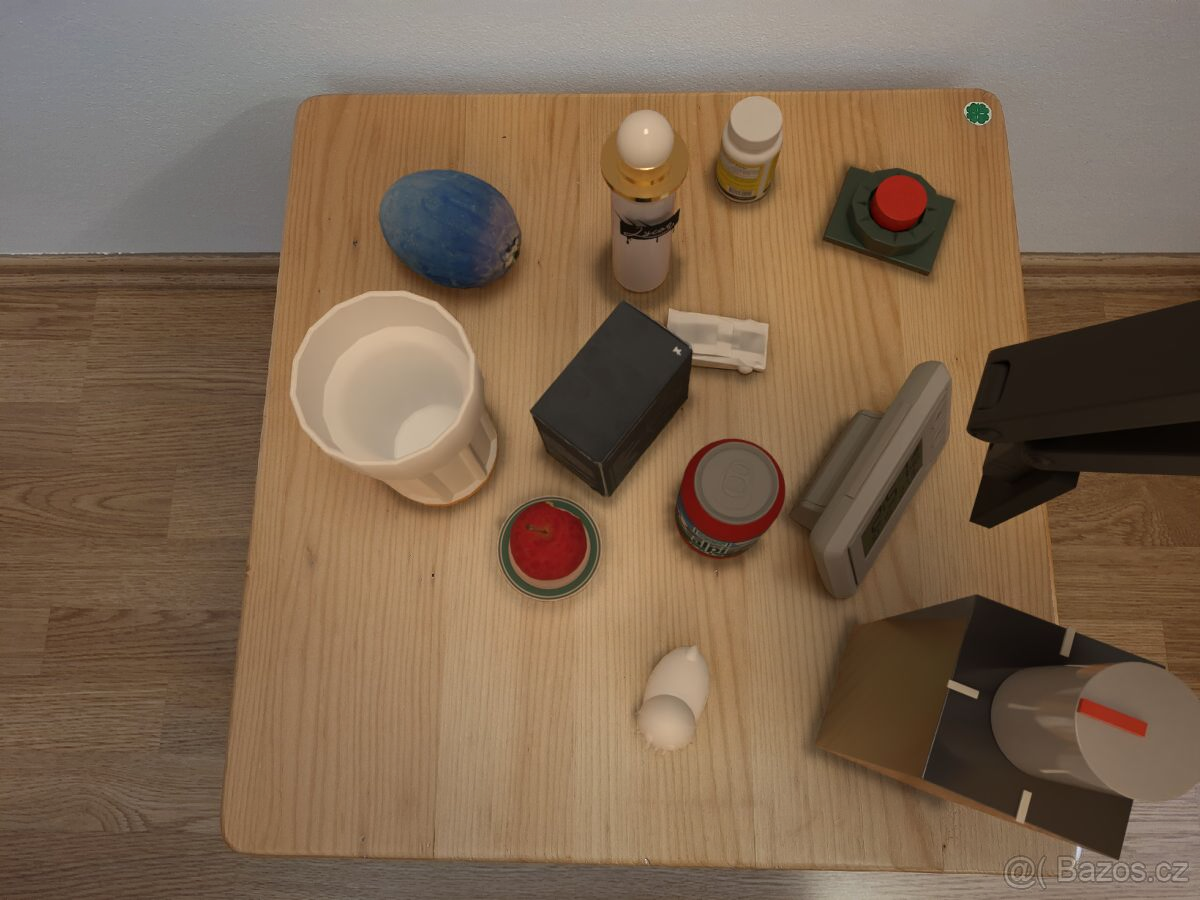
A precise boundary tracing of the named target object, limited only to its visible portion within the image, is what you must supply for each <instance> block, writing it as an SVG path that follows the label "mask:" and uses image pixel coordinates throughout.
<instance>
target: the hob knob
mask: <svg viewBox="0 0 1200 900" xmlns="http://www.w3.org/2000/svg"><path fill="white" fill-rule="evenodd" d="M991 725H992V730H993V734H994V737H995V739H996V742H997V744H998V746H999V747H1000V749H1001V751H1002V752H1003V754H1004V755H1005V756H1006V757H1007V759H1008V760H1009V761H1010V762H1011V763H1012V764H1013V765H1015V766H1016V767H1017V768H1018V769H1020V770H1022V771H1023V772H1025V773H1027V774H1029V775H1031V776H1033V777H1036V778H1039V779H1044V780H1048V781H1053V782H1057V783H1062V784H1066V785H1070V786H1075V787H1079V788H1084V789H1088V790H1093V791H1097V792H1102V793H1106V794H1110V795H1115V796H1119V797H1124V798H1128V799H1133V800H1134V801H1137V802H1143V803H1165V802H1168V801H1172V800H1175V799H1178V798H1180V797H1182V796H1183V795H1185V794H1187V793H1188V792H1190V791H1191V790H1192V789H1194V788H1195V787H1196V786H1197V785H1198V783H1199V782H1200V699H1199V698H1198V696H1197V695H1196V693H1195V692H1194V691H1193V690H1192V689H1191V688H1190V686H1188V685H1187V684H1186V683H1185V681H1183V680H1182V679H1180V678H1179V676H1176V675H1175V674H1173V673H1172V672H1171V671H1168V670H1167V669H1166V668H1165V669H1162V668H1160V667H1158V666H1155V665H1152V664H1148V663H1143V662H1114V663H1093V664H1072V665H1052V666H1034V667H1028V668H1024V669H1021V670H1019V671H1017V672H1015V673H1013V674H1012V675H1010V676H1009V677H1008V678H1007V679H1006V680H1005V681H1004V682H1003V683H1002V684H1001V685H1000V687H999V688H998V690H997V692H996V694H995V696H994V699H993V702H992V707H991Z"/></svg>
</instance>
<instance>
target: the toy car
mask: <svg viewBox="0 0 1200 900" xmlns="http://www.w3.org/2000/svg"><path fill="white" fill-rule="evenodd" d="M666 324H667V325H666V328H668V329H669V330H670V331H671V332H673V333H675V334H676V335H677V336H678V337H680V338H681V339H682V340H684V341H686V342H688V343H689V344H690V345H691V346H692V350H693V354H692V364H691V366H696V367H705V368H707V367H708V368H715V369H725V370H738V372H739V373H740V374H744V375H747V374H750V373H752V371H753V370H754V371H758V372H763V371H765V370H766V365H767V354H768V351H767V346H768V341H769V340H768V339H769V328H770V324H769V323H765V322H758V321H756V320H754V319H752V318H745V319H741V318H734V317H728V316H722V315H716V314H708V313H700V312H692V311H681V310H676V309H674V308H672V307H669V308H668V317H667V323H666Z"/></svg>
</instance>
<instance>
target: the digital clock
mask: <svg viewBox="0 0 1200 900" xmlns="http://www.w3.org/2000/svg"><path fill="white" fill-rule="evenodd" d="M952 393H953V377H952V375H951V373H950V371H949V370H948V367H947V366H946V364H945V362H942V361H939V360H928V361H927V360H926V361H923V362H920V363H918V364H916V365H915V366H914V368H912V370H911V372H910V373H909V374H908V376H907V378H906V379H905V381H904V382H903V384H902V386H901V387H900V389H899V391H898V392H897V394H896V396H895V397H894V398H893V400H892V401H891V403H890V405H889V406H888V408H887V410H886V411H885V412H876V411H874V410H873V411H872V410H869V409H867V408H861V409H860V410H858V411H857V412H855V414H854V415H853V416H852V418H850V419H849V421H848V422H847V423H846V425H845V426H844V428H843V429H842V431H841V432H840V434H839V435H838V437H837V439H836V440H835V442H834V443H833V445H832V446H831V448H830V449H829V451H828V453H827V455H826V456H825V458H824V459H823V461H822V462H821V464H820V466H818V469H817V470H816V472H815V473H814V475H813V476H812V478H811V479H810V481H809V482H808V485H807V486H806V487H805V489H804V491H803V492H802V494H801V495H800V497H799V498H798V500H797V501H796V503H795V504H794V506H793V508H792V509H791V511H790V513H789V517H790V518H791V519H793V520H794V521H795V522H797V523H798V524H800V525H802V526H803V527H805V528H806V529H808V530H809V531H810V534H809V545H810V549H811V551H812V554H813V557H814V561H815V563H816V566H817V569H818V572H819V576H820V579H821V581H822V584H823V586H824V588H825V589H826V591H827V592H828V593H829V595H831V596H832V597H834V598H835V599H842V598H848V597H853V596H854V595H855V594H856V593H857V591H858V590H859V589H860V586H861V585H862V583H863V582H864V580H865V578H866V577H867V575H868V574H869V572H870V570H871V569H872V567H873V566H874V564H875V562H876V560H877V559H878V557H879V555H880V554H881V553H882V551H883V549H884V547H885V546H886V545H887V543H888V541H889V539H890V538H891V536H892V534H893V533H894V531H895V529H896V528H897V526H898V524H899V523H900V521H901V519H902V518H903V516H904V514H905V513H906V512H907V510H908V508H909V506H910V505H911V503H912V501H913V500H914V498H915V496H916V495H917V493H918V492H919V490H920V488H921V487H922V486H923V483H924V482H925V480H926V479H927V477H928V475H929V473H930V472H931V470H932V468H933V467H934V465H935V463H936V462H937V460H938V459H939V457H940V455H941V454H942V452H943V450H944V449H945V447H946V445H947V444H948V441H949V438H950V433H951V416H952V395H953V394H952Z"/></svg>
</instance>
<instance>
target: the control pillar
mask: <svg viewBox="0 0 1200 900" xmlns="http://www.w3.org/2000/svg"><path fill="white" fill-rule="evenodd" d="M1114 662H1143V663H1148V664H1152V665H1155V666H1158V667H1160V668H1162V669H1165V670H1166V665H1164V664H1161V663H1159V662H1155V661H1153V660H1150V659H1147V658H1145V657H1142V656H1140V655H1137V654H1135V653H1132V652H1129V651H1128V650H1127V651H1126V650H1124V649H1121V648H1119V647H1117V646H1114V645H1111V644H1109V643H1106V642H1103V641H1101V640H1098V639H1095V638H1093V637H1090V636H1087V635H1085V634H1082V633H1080V632H1078V631H1077V628H1076V627H1073V626H1070V625H1067V626H1066V627H1064V626H1061V625H1059V624H1056V623H1054V622H1052V621H1049V620H1046V619H1043V618H1041V617H1038V616H1036V615H1033V614H1030V613H1027V612H1026V611H1022V610H1020V609H1017V608H1014V607H1012V606H1010V605H1007V604H1004V603H1001V602H999V601H996V600H995V599H991V598H989V597H986V596H984V595H981V594H978V593H975V594H972V595H967V596H963V597H961V598H957V599H953V600H952V599H951V600H949V601H945V602H942V603H937V604H934V605H930V606H926V607H921V608H918V609H915V610H911V611H907V612H903V613H899V614H896V615H892V616H888V617H884V618H880V619H876V620H873V621H868V622H866V623H865V622H864V623H862V624H857V625H854V626H852V629H851V632H850V635H849V637H848V640H847V644H846V647H845V650H844V653H843V656H842V659H841V663H840V665H839V669H838V671H837V675H836V678H835V680H834V684H833V687H832V690H831V693H830V695H829V699H828V702H827V705H826V708H825V711H824V714H823V717H822V720H821V723H820V726H819V729H818V732H817V735H816V738H815V741H814V744H813V746H815V747H817V748H820V749H822V750H823V751H826V752H830V753H831V754H834V755H837V756H838V757H841V758H843V759H846V760H848V761H851V762H853V763H855V764H858V765H861V766H863V767H866V768H868V769H870V770H873V771H875V772H878V773H880V774H882V775H884V776H887V777H889V778H892V779H894V780H897V781H899V782H901V783H904V784H906V785H908V786H911V787H914V788H916V789H918V790H921V791H923V792H926V793H927V794H930V795H933V796H935V797H938V798H941V799H942V800H943V799H944V800H946V801H950V802H952V803H954V804H958V805H961V806H964V807H966V808H969V809H972V810H974V811H977V812H979V813H982V814H985V815H988V816H991V817H994V818H996V819H1000V820H1002V821H1006V822H1008V823H1011V824H1014V825H1017V826H1020V827H1022V828H1025V829H1028V830H1031V831H1034V832H1036V833H1039V834H1042V835H1045V836H1047V837H1051V838H1053V839H1056V840H1058V841H1061V842H1065V843H1066V844H1069V845H1074V846H1076V847H1079V848H1081V849H1084V850H1087V851H1089V852H1092V853H1096V854H1098V855H1101V856H1104V857H1106V858H1110V859H1112V860H1114V861H1120V858H1121V854H1122V849H1123V846H1124V841H1125V838H1126V833H1127V829H1128V826H1129V821H1130V816H1131V812H1132V807H1133V804H1134V801H1135V800H1133V799H1128V798H1124V797H1119V796H1115V795H1110V794H1106V793H1102V792H1097V791H1093V790H1088V789H1084V788H1079V787H1075V786H1070V785H1066V784H1062V783H1057V782H1053V781H1048V780H1044V779H1039V778H1036V777H1033V776H1031V775H1029V774H1027V773H1025V772H1023V771H1022V770H1020V769H1018V768H1017V767H1016V766H1015V765H1013V764H1012V763H1011V762H1010V761H1009V760H1008V759H1007V757H1006V756H1005V755H1004V754H1003V752H1002V751H1001V749H1000V747H999V746H998V744H997V742H996V739H995V737H994V734H993V730H992V725H991V707H992V702H993V699H994V696H995V694H996V692H997V690H998V688H999V687H1000V685H1001V684H1002V683H1003V682H1004V681H1005V680H1006V679H1007V678H1008V677H1009V676H1010V675H1012V674H1013V673H1015V672H1017V671H1019V670H1021V669H1024V668H1028V667H1034V666H1052V665H1072V664H1093V663H1114Z"/></svg>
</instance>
